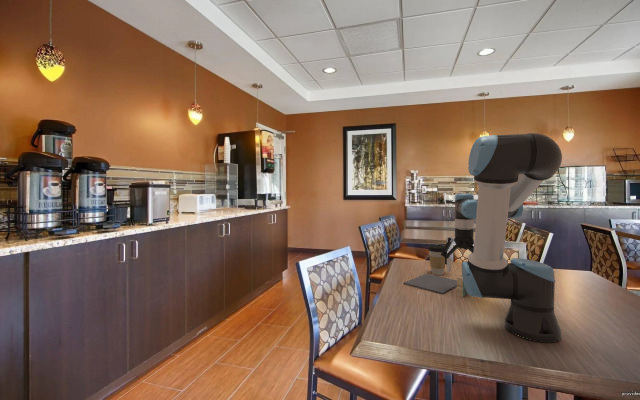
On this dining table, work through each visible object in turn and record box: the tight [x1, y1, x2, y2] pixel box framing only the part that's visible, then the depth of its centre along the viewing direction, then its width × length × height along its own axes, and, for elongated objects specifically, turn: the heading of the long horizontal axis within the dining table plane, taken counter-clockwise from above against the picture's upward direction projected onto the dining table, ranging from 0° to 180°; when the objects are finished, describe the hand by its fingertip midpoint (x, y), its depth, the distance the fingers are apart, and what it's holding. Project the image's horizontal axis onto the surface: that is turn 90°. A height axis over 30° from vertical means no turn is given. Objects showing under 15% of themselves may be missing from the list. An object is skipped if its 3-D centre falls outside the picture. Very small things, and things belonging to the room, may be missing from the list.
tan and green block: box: [456, 274, 469, 298], centre depth 134 cm, size 9×3×8 cm, turn 132°
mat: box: [403, 273, 457, 295], centre depth 148 cm, size 22×20×1 cm
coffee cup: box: [427, 244, 446, 276], centre depth 165 cm, size 10×10×15 cm
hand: (463, 274), depth 134 cm, fingers open, 13 cm apart
